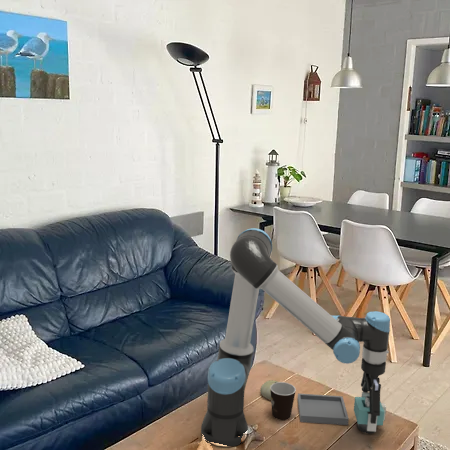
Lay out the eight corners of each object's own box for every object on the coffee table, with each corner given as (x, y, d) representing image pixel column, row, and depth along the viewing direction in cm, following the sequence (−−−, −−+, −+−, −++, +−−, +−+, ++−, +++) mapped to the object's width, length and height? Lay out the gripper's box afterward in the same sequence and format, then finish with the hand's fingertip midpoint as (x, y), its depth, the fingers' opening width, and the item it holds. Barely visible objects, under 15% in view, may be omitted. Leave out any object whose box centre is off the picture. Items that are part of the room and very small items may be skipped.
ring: (357, 423, 172) (359, 410, 171) (353, 409, 179) (355, 396, 178) (386, 425, 171) (388, 411, 170) (381, 411, 179) (382, 398, 178)
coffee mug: (292, 423, 177) (294, 396, 175) (267, 420, 179) (268, 393, 177) (295, 405, 188) (297, 379, 186) (271, 401, 190) (272, 376, 188)
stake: (359, 433, 174) (362, 402, 171) (356, 422, 179) (359, 393, 177) (377, 434, 173) (381, 404, 171) (374, 423, 179) (377, 394, 177)
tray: (300, 421, 179) (300, 415, 178) (297, 399, 192) (297, 393, 192) (348, 425, 178) (348, 418, 177) (342, 402, 191) (342, 396, 191)
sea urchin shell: (285, 383, 199) (286, 377, 192) (284, 405, 195) (284, 399, 188) (261, 381, 200) (261, 375, 193) (259, 402, 196) (259, 397, 189)
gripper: (394, 378, 159) (387, 442, 164) (378, 343, 182) (372, 401, 187) (369, 376, 159) (362, 441, 164) (355, 342, 182) (350, 399, 187)
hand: (367, 419), depth 176 cm, fingers open, 11 cm apart
